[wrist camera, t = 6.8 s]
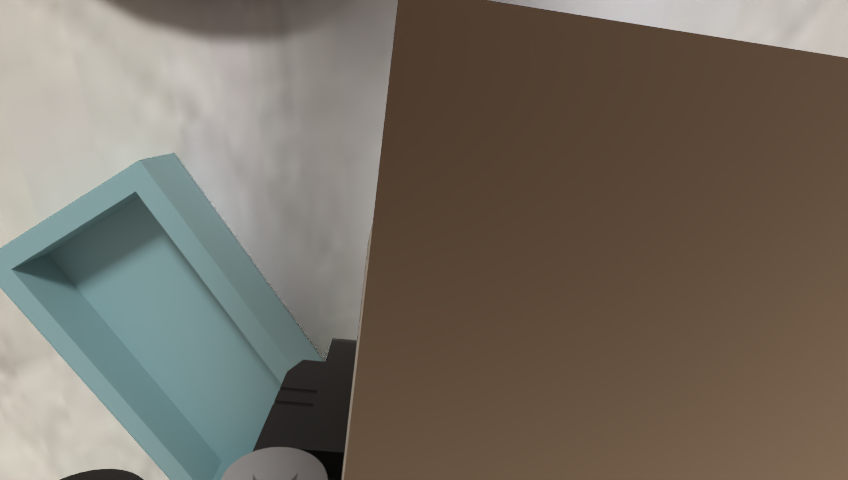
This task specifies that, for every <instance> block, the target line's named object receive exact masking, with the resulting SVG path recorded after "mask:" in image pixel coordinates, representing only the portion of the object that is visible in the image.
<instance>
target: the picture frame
mask: <svg viewBox="0 0 848 480" xmlns="http://www.w3.org/2000/svg"><path fill="white" fill-rule="evenodd" d="M342 480H848V58H844V57H838V56H832V55H826V54H819V53H813V52H807V51H801V50H794V49H788V48H782V47H775V46H769V45H763V44H757V43H750V42H744V41H738V40H732V39H725V38H719V37H713V36H707V35H700V34H694V33H688V32H682V31H675V30H669V29H663V28H657V27H650V26H644V25H638V24H632V23H625V22H619V21H613V20H606V19H600V18H594V17H588V16H581V15H575V14H569V13H563V12H556V11H550V10H544V9H538V8H531V7H525V6H519V5H513V4H506V3H500V2H494V1H488V0H398V7H397V16H396V25H395V33H394V42H393V51H392V60H391V69H390V77H389V86H388V95H387V104H386V113H385V121H384V130H383V139H382V148H381V157H380V165H379V174H378V183H377V192H376V201H375V210H374V218H373V224H372V229H371V233H370V237H369V241H368V248H367V257H366V266H365V275H364V284H363V293H362V302H361V310H360V319H359V328H358V337H357V346H356V355H355V364H354V373H353V382H352V391H351V400H350V408H349V417H348V426H347V435H346V444H345V453H344V462H343V471H342Z"/></svg>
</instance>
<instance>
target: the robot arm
mask: <svg viewBox="0 0 848 480" xmlns="http://www.w3.org/2000/svg"><path fill="white" fill-rule="evenodd" d="M356 346H357V341H355V340H345V339H335V338H333V339H332V342H331V346H330V349H329V352H328V356H327V359H326V362H323V361H313V360H302V361H301V362H299V363H298V364H297V365H295V366H294V367H292V368H291V369H290V370H288V371H287V373H286V375H285V377H284V380H283V382H282V384H281V387H280V390H279V391H278V393H277V396H276V398H275V401H274V404H273V405H272V407H271V410H270V412H269V414H268V417H267V419H266V421H265V424H264V426H263V428H262V430H261V433H260V435H259V437H258V440H257V442H256V444H255V447H254V449H253V451H252V452H251V453H248V454H246V455H244V456H243V457H241V458H239V459H238V460H236V461H235V462H234V463H233V464H232V465H231V466H229V467H228V469H227V470H226V471H225V473H224V474H223V477H222V479H221V480H342V471H343V462H344V453H345V444H346V435H347V426H348V417H349V408H350V400H351V391H352V382H353V373H354V364H355V355H356ZM61 480H143V479H142V478H141V477H139V476H138V475H136V474H134V473H131V472H128V471H124V470H117V469H100V470H91V471H86V472H81V473H78V474H75V475H71V476H68V477H66V478H63V479H61Z"/></svg>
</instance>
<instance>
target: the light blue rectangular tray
mask: <svg viewBox="0 0 848 480" xmlns="http://www.w3.org/2000/svg"><path fill="white" fill-rule="evenodd" d="M0 288H1V289H2V290H3V291H4V292H5V293H6V294H7V296H8V297H9V298H10V299H11V300H12V301H13V302H14V303H15V305H16V306H17V307H18V308H19V309H20V310H21V311H22V313H23V314H24V315H25V316H26V317H27V318H28V319H29V320H30V322H31V323H32V324H33V325H34V326H35V327H36V328H37V330H38V331H39V332H40V333H41V334H42V335H43V336H44V337H45V339H46V340H47V341H48V342H49V343H50V344H51V345H52V346H53V348H54V349H55V350H56V351H57V352H58V353H59V354H60V356H61V357H62V358H63V359H64V360H65V361H66V362H67V363H68V365H69V366H70V367H71V368H72V369H73V370H74V371H75V373H76V374H77V375H78V376H79V377H80V378H81V379H82V380H83V382H84V383H85V384H86V385H87V386H88V387H89V388H90V390H91V391H92V392H93V393H94V394H95V395H96V396H97V397H98V399H99V400H100V401H101V402H102V403H103V404H104V405H105V406H106V408H107V409H108V410H109V411H110V412H111V413H112V414H113V416H114V417H115V418H116V419H117V420H118V421H119V422H120V423H121V425H122V426H123V427H124V428H125V429H126V430H127V431H128V433H129V434H130V435H131V436H132V437H133V438H134V439H135V440H136V442H137V443H138V444H139V445H140V446H141V447H142V448H143V450H144V451H145V452H146V453H147V454H148V455H149V456H150V457H151V459H152V460H153V461H154V462H155V463H156V464H157V465H158V467H159V468H160V469H161V470H162V471H163V472H164V473H165V474H166V476H167V477H168V478H169V479H170V480H221V479H222V477H223V474H224V473H225V471H226V470H227V469H228V467H229V466H231V465H232V464H233V463H234V462H235V461H236V460H238V459H239V458H241V457H243V456H244V455H246V454H248V453H251V452H252V451H253V449H254V447H255V444H256V442H257V440H258V437H259V435H260V433H261V430H262V428H263V426H264V424H265V421H266V419H267V417H268V414H269V412H270V410H271V407H272V405H273V404H274V401H275V398H276V396H277V393H278V391H279V390H280V387H281V384H282V382H283V380H284V377H285V375H286V373H287V371H288V370H290V369H291V368H292V367H294V366H295V365H297V364H298V363H299V362H301V361H302V360H313V361H323V362H324V360H323V359H322V358H321V356H320V355H319V353H318V352H317V351H316V349H315V348H314V347H313V345H312V344H311V342H310V341H309V340H308V338H307V337H306V335H305V334H304V333H303V331H302V330H301V328H300V327H299V326H298V324H297V323H296V321H295V320H294V319H293V317H292V316H291V315H290V313H289V312H288V310H287V309H286V308H285V306H284V305H283V303H282V302H281V301H280V299H279V298H278V296H277V295H276V294H275V292H274V291H273V289H272V288H271V287H270V285H269V284H268V283H267V281H266V280H265V278H264V277H263V276H262V274H261V273H260V271H259V270H258V269H257V267H256V266H255V264H254V263H253V262H252V260H251V259H250V257H249V256H248V255H247V253H246V252H245V251H244V249H243V248H242V246H241V245H240V244H239V242H238V241H237V239H236V238H235V237H234V235H233V234H232V232H231V231H230V230H229V228H228V227H227V225H226V224H225V223H224V221H223V220H222V219H221V217H220V216H219V214H218V213H217V212H216V210H215V209H214V207H213V206H212V205H211V203H210V202H209V200H208V199H207V198H206V196H205V195H204V193H203V192H202V191H201V189H200V188H199V187H198V185H197V184H196V182H195V181H194V180H193V178H192V177H191V175H190V174H189V173H188V171H187V170H186V168H185V167H184V166H183V164H182V163H181V161H180V160H179V159H178V157H177V156H176V155H175V153H172V154H167V155H162V156H157V157H152V158H148V159H143V160H139V161H137V162H136V163H134V164H133V165H131V166H129V167H128V168H126V169H125V170H123V171H121V172H120V173H118V174H117V175H115V176H114V177H112V178H110V179H109V180H107V181H106V182H104V183H103V184H101V185H99V186H98V187H96V188H95V189H93V190H91V191H90V192H88V193H87V194H85V195H84V196H82V197H80V198H79V199H77V200H76V201H74V202H72V203H71V204H69V205H68V206H66V207H65V208H63V209H61V210H60V211H58V212H57V213H55V214H53V215H52V216H50V217H49V218H47V219H46V220H44V221H42V222H41V223H39V224H38V225H36V226H34V227H33V228H31V229H30V230H28V231H27V232H25V233H23V234H22V235H20V236H19V237H17V238H16V239H14V240H12V241H11V242H9V243H8V244H6V245H4V246H3V247H1V248H0Z"/></svg>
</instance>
